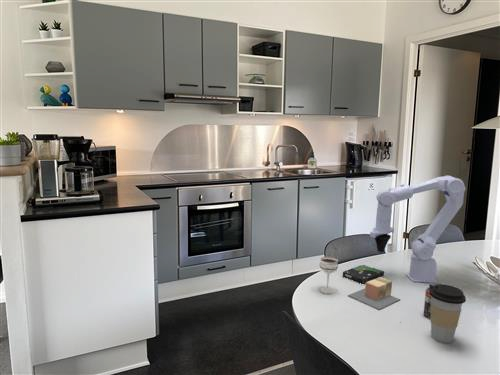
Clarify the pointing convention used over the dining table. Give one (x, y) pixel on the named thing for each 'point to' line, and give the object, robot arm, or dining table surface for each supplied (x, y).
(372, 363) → the dining table surface
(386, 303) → the mat
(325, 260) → the wineglass
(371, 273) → the disk drive
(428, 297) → the supplement bottle
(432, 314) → the coffee cup
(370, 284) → the maple block
